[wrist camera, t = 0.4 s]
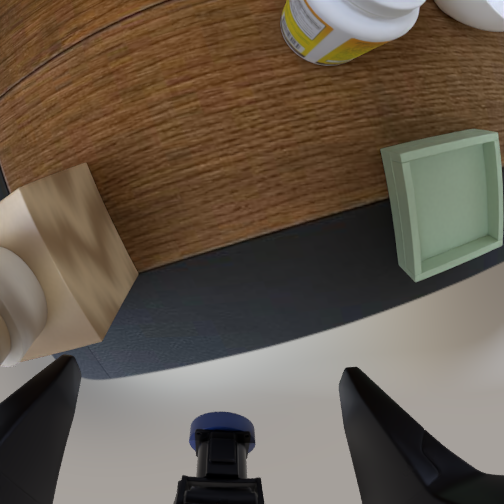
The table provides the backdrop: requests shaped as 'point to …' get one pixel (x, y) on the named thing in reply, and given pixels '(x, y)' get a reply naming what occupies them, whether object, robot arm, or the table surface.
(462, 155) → the mint green tray
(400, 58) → the table surface
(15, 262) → the tan cylindrical piece
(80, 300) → the stand
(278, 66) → the table surface
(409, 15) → the supplement bottle
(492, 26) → the cup
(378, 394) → the robot arm
